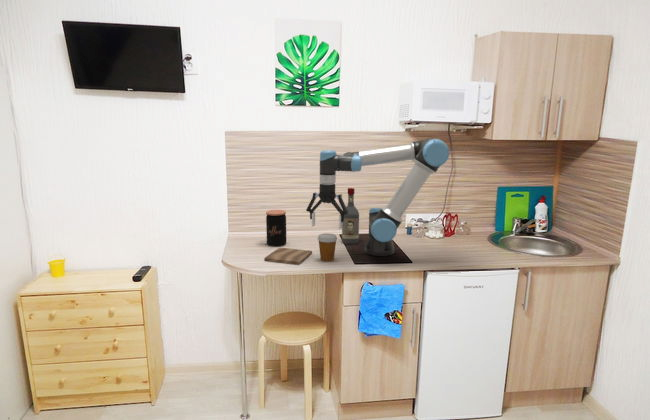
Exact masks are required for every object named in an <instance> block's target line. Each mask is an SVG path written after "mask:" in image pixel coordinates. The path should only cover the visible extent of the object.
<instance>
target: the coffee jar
mask: <svg viewBox="0 0 650 420" xmlns="http://www.w3.org/2000/svg"><path fill="white" fill-rule="evenodd" d="M265 214H266V216H265V221H266V222H265V223H266V230H265V231H266V243H267V244H268V246H269V247H283V246H285V245H286V244H287V215H286V214H287V211H286V210H283V209H269V210H267V211H266V212H265Z"/></svg>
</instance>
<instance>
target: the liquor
mask: <svg viewBox="0 0 650 420" xmlns="http://www.w3.org/2000/svg"><path fill="white" fill-rule="evenodd" d="M347 196H348V197H347V198H348V199H347V206H346V208H347V211H348V214H346V215H344V222H342V228H341V242H342V243H343V244H347V245H349V244H350V245H356V244H358V243H359V239H360V212H359V210H358V209H357V207H356V206H355V204H354V203H355V202H354V200H355V198H354V197H355V188H353V187H348V188H347Z"/></svg>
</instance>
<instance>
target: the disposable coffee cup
mask: <svg viewBox="0 0 650 420" xmlns="http://www.w3.org/2000/svg"><path fill="white" fill-rule="evenodd" d="M317 240H318V247H319V253H320V254H319V256H320V260H321V261H322V262H332V261H334V259H335V253H336V244H337V240H338V236H337V235H336V234H335V233H330V232H329V233H326V232H325V233H321V234H318V237H317Z"/></svg>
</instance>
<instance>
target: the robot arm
mask: <svg viewBox="0 0 650 420" xmlns="http://www.w3.org/2000/svg"><path fill="white" fill-rule="evenodd" d="M449 157H450V148H449V146H448V145H447V144H446V142H444V140H441V139H439V138H434V137H430V138H424V139H420V140H416V141H415V140H414V141H410V143H409V144H403V145H396V146H390V147H389V146H388V147H379V148H374V149H373V148H372V149H367V150H360V151H353V152H351V151H347V152H345V153H343V154H337V152H336V150H330V149H329V150H328V149H326V150H325V149H324V150H321V151H320V153H319V188H318V189H319V192H316V191H315V192H313V193H312V197H311V199H310V202H309V204H308V205H307V208H306V210H305V212H309V220H311V227H313V228H314V227H315V226H316V212H315V211H316V210H317V209H318V207H319V206H320V205H321V204H322V203H323V204H331V205H333V207H334V208H335V209H336V211H337V212H338V213H339V214H340V215H339V216H338V230H342V222H344V215H346V214H348V211H347V208H346V207H347V206H346V204H345V202H344V199H343V194H341V193H340V194H337V193H336V184H335V183H336V182H337V180H336V177H337V176H336V174H337V172H352V173H354V172H361V171H362V167H366V166H367V167H368V166H374V165H382V164H389V163H390V164H391V163H397V162H407V161H412V162H414V165H413V166H412V168H411V169H410V171H409V173H408V174H407V175H406V177H405V178H404V180H403V181H402V182H401V184H400V185H399V187H398V188H397V190H396V192H395V193H394V195H393V196H392V198H391V199H390V200H389V202H388V203H387V204H386V206H384V207H372V208H371V207H370V209H369V212H368V215H369V216H368V238H367V240H366V243H365V245H364V252H365V254H368V255H370V256H375V257H387V256H388V257H389V256H392V255H393V254H395V246H394V242H393V239H394V238H395V237H396V235H397V231H398V228H399V227H400V226H401V224H402V222H403V219H402V217H403V215H404V214H405V212H406V211H407V210H408V208H409V206H410V205H411V204H412V202H413V201H414V199H415V198H416V196H417V195H418V193H419V192H420V191H421V189H422V187H423V186H424V185H425V183H426V181H427V180H428V179H429V177H430V176H431V175H432V174H433V175H434V174H436V173H437V171H438V170H439V168H440V167H441V166H442V165H444V164H445V163H447V161H448V159H449ZM317 198H319V200H318V201H317V202H316V199H317ZM336 199H337V200H338V202H339V204H338V203H337V201H336ZM315 202H316V204H315V205H314V203H315ZM313 205H314V206H313Z"/></svg>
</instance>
